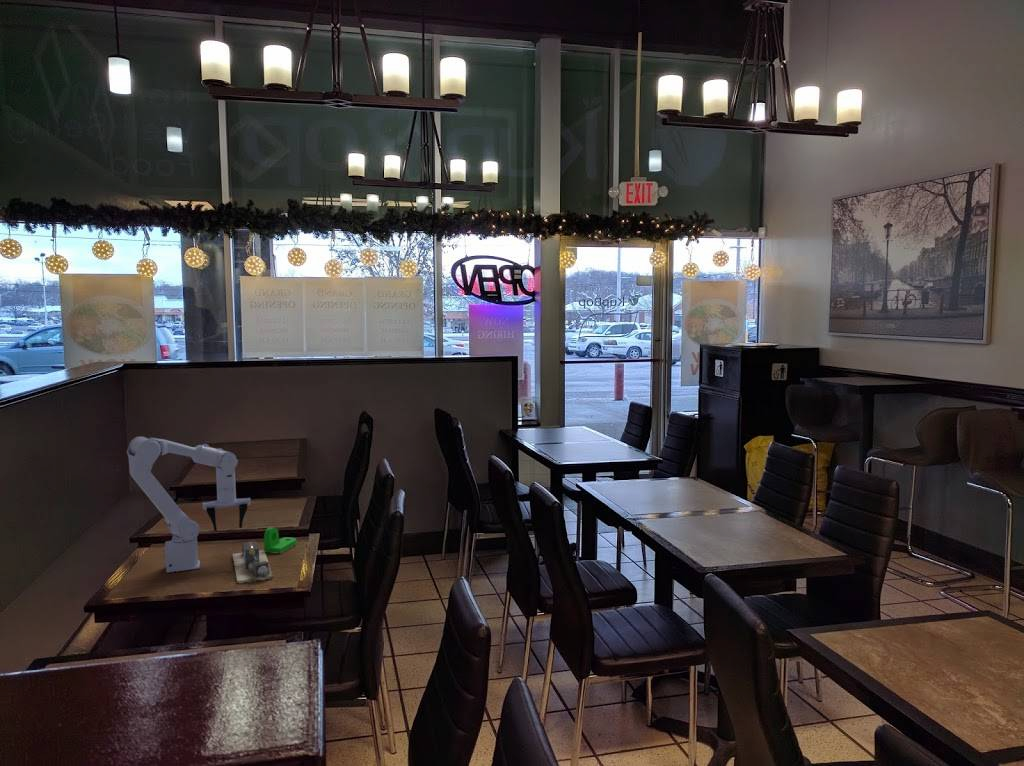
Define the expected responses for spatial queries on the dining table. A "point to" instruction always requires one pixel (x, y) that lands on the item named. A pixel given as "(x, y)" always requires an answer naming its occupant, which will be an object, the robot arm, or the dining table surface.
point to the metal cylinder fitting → (243, 548)
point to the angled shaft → (259, 568)
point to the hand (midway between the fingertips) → (228, 528)
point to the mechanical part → (276, 541)
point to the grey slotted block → (250, 553)
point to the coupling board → (247, 574)
